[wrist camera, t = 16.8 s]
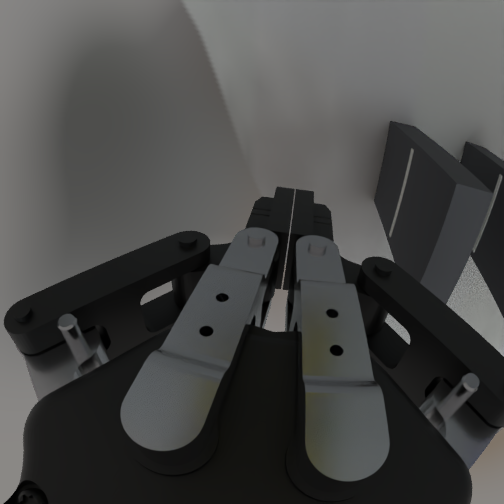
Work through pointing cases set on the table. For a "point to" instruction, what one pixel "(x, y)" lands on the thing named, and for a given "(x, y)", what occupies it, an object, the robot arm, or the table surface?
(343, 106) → the table surface
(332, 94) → the table surface
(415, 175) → the black domino
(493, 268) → the black domino
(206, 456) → the robot arm
